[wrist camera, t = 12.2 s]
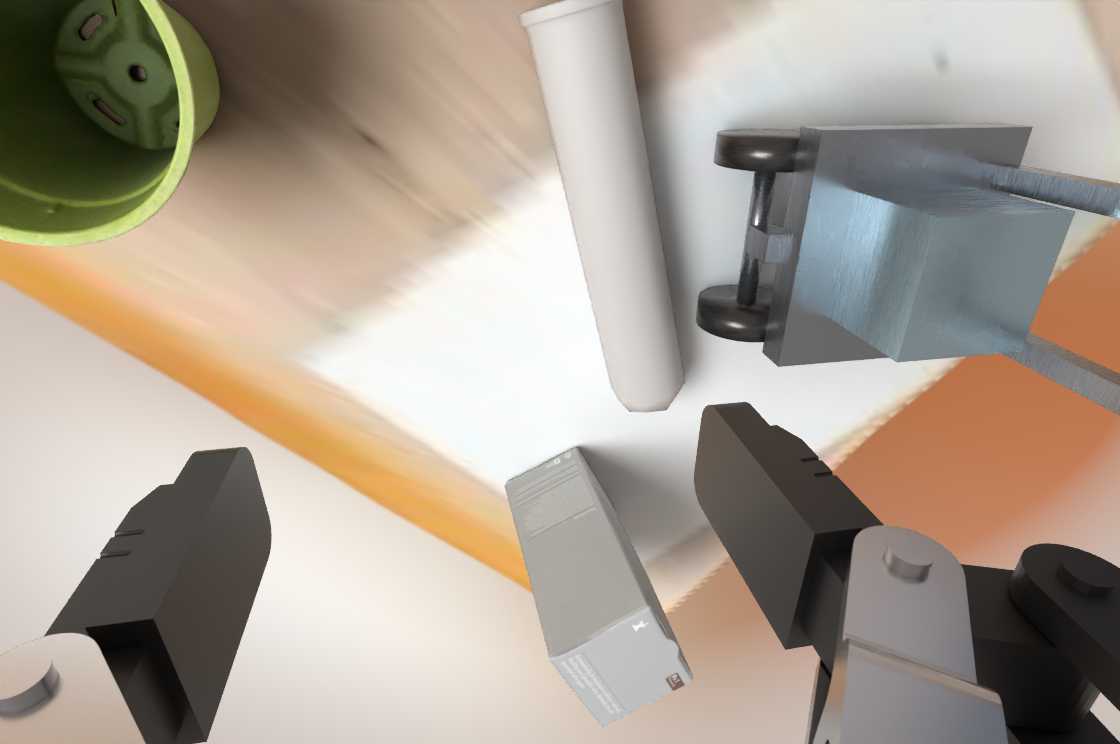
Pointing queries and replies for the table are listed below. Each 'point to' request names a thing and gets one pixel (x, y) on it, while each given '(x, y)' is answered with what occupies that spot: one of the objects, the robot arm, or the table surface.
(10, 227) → the plant pot
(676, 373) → the tube
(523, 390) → the table surface
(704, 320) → the trolley
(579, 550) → the skincare box
